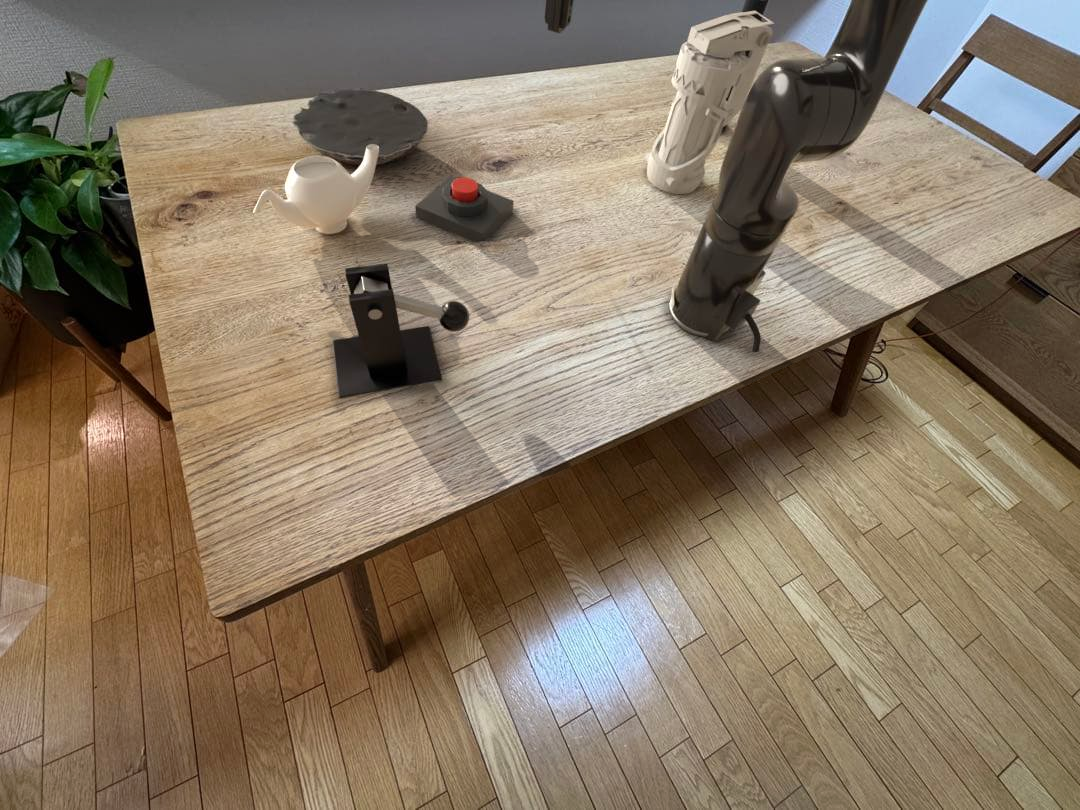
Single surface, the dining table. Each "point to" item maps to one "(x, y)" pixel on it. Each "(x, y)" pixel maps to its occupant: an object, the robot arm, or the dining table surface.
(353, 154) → the board
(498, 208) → the control block
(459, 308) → the lever
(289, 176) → the teapot
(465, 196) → the button
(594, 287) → the dining table surface
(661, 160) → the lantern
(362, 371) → the bracket
